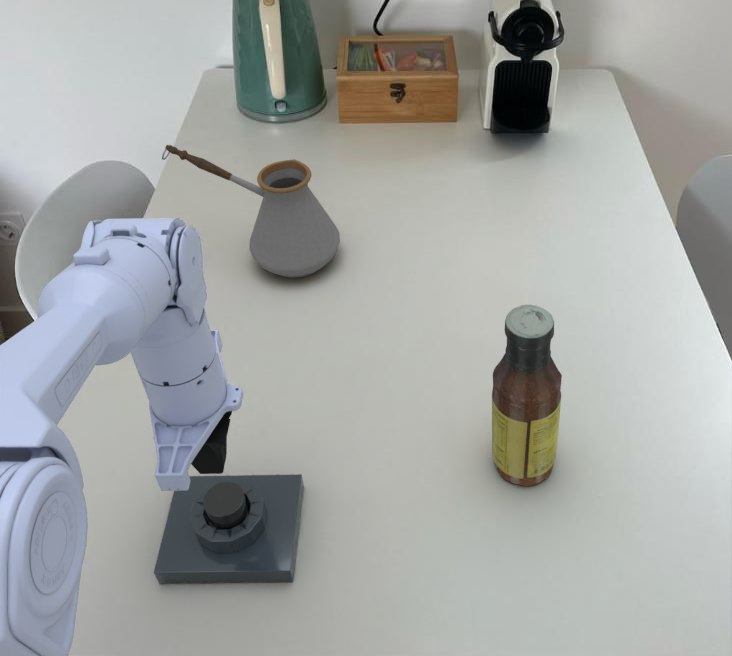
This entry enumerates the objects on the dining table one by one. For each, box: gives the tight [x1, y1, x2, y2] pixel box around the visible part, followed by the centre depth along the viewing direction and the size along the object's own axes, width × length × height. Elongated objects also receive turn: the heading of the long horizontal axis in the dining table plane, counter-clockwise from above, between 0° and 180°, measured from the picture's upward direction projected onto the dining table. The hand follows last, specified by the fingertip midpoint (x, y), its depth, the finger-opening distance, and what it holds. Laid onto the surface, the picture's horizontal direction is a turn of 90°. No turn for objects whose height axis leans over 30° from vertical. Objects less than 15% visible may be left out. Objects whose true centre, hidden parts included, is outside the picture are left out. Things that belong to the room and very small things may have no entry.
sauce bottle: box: [491, 304, 563, 487], centre depth 73 cm, size 7×6×20 cm
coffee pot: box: [161, 144, 341, 279], centre depth 101 cm, size 21×12×15 cm, turn 74°
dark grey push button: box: [203, 482, 248, 529], centre depth 72 cm, size 4×4×2 cm
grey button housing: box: [153, 473, 305, 585], centre depth 74 cm, size 12×10×4 cm
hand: (212, 467), depth 68 cm, fingers closed
